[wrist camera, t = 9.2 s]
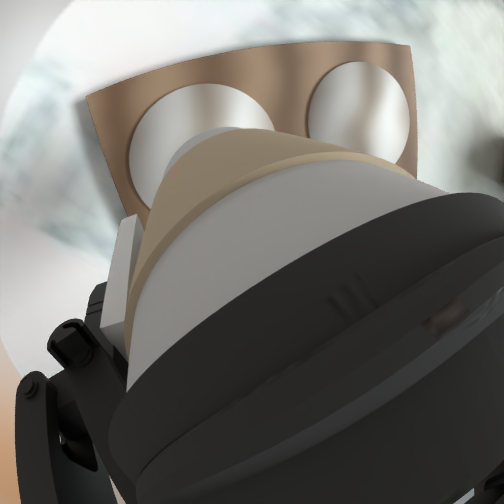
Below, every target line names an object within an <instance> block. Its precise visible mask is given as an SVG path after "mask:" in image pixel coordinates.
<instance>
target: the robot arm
mask: <svg viewBox="0 0 504 504" xmlns="http://www.w3.org/2000/svg"><path fill="white" fill-rule="evenodd" d="M143 235H144V230H143V227H142V225H141V222H140V220H139V217H138V215H137V214H135V215H132V216H129V217H127V218H124V219H121V223H120V227H119V231H118V235H117V239H116V243H115V247H114V252H113V256H112V261H111V266H110V271H109V276H108V281H107V282H104V283H101V284H98V285H96V287H95V288H94V290H93V292H92V293H91V295H90V298H89V302H88V308H87V311H86V316H85V321H84V322H83V321H82V320H81V319H77V318H75V319H70V320H67V321H65V322H64V323H62V324H61V325H59V326H58V327H57V328H56V329H55V330H54V331H53V333H52V334H51V336H50V338H49V340H48V343H47V350H48V351H49V353H50V354H51V355H52V356H53V357H54V358H55V359H56V360H57V361H58V362H59V363H60V364H61V365H62V367H63V368H64V370H62V371H61V372H59V373H57V374H56V375H54V376H52V377H51V378H49V379H48V378H47V377H46V376H45V375H44V374H43V373H42V372H39V371H33V372H30V373H29V374H27V375H26V376H25V377H24V378H23V379H22V380H21V381H20V384H19V386H18V388H17V392H16V405H15V449H16V466H17V476H18V485H19V492H20V499H21V504H118V503H117V500H116V497H115V494H114V491H113V488H112V484H111V481H110V478H109V475H110V477H111V479H112V481H113V483H114V484H115V486H116V488H117V490H118V491H119V493H120V495H121V496H122V498H123V499H124V501H125V503H126V504H138V502H137V499H136V487H135V486H134V484H133V483H132V482H131V481H130V480H129V478H128V477H127V476H126V475H125V473H124V472H123V471H122V470H121V468H120V467H119V466H118V464H117V463H116V462H115V460H114V459H113V457H112V455H111V452H110V449H109V444H108V432H109V426H110V423H111V420H112V417H113V415H114V413H115V411H116V409H117V407H118V405H119V403H120V402H121V400H122V398H123V397H124V396H125V394H126V391H127V378H128V366H129V360H128V357H127V353H126V349H125V342H124V320H125V313H126V307H127V302H128V298H129V293H130V288H131V284H132V279H133V275H134V271H135V266H136V262H137V258H138V254H139V250H140V246H141V242H142V239H143ZM59 435H60V436H59ZM60 437H61V444H60ZM465 504H504V460H503V461H502V462H501V463H500V464H499V465H498V466H497V467H496V468H495V469H494V470H493V471H492V472H491V473H490V474H489V475H488V476H487V477H486V478H484V479H483V480H482V481H481V482H480V483H479V484H478V485H476V486H475V487H474V496H473V497H472V498H470V499H469V500H468V501H467V502H466V503H465Z"/></svg>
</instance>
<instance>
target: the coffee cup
mask: <svg viewBox="0 0 504 504" xmlns="http://www.w3.org/2000/svg"><path fill="white" fill-rule="evenodd" d="M124 342H125V349H126V353H127V357H128V360H129V366H128V378H127V391H126V394H125V396H124V397H123V398H122V400H121V402H120V403H119V405H118V407H117V409H116V411H115V413H114V415H113V417H112V420H111V423H110V426H109V432H108V444H109V449H110V452H111V455H112V457H113V459H114V460H115V462H116V463H117V464H118V466H119V467H120V468H121V470H122V471H123V472H124V473H125V475H126V476H127V477H128V478H129V480H130V481H131V482H132V483H133V484H134V486H135V487H136V499H137V502H138V504H453V503H454V502H456V501H457V500H459V499H460V498H461V497H462V496H464V495H465V494H466V493H468V492H469V491H470V490H471V489H473V488H474V487H475V486H476V485H478V484H479V483H480V482H481V481H482V480H483V479H484V478H486V477H487V476H488V475H489V474H490V473H491V472H492V471H493V470H494V469H495V468H496V467H497V466H498V465H499V464H500V463H501V462H502V461H503V460H504V203H503V202H502V201H500V200H498V199H497V198H494V197H492V196H489V195H485V194H480V193H455V194H449V193H447V192H445V191H443V190H440V189H438V188H436V187H433V186H431V185H429V184H426V183H424V182H421V181H419V180H416V179H415V178H414V177H413V176H412V175H411V174H409V173H408V172H407V171H405V170H404V169H402V168H401V167H399V166H397V165H395V164H394V163H391V162H389V161H387V160H384V159H382V158H378V157H375V156H372V155H369V154H365V153H362V152H359V151H355V150H352V149H348V148H344V147H341V146H337V145H333V144H329V143H325V142H321V141H317V140H313V139H309V138H305V137H300V136H296V135H291V134H286V133H282V132H277V131H271V130H266V129H257V128H246V129H244V128H239V127H218V128H213V129H209V130H206V131H204V132H201V133H199V134H197V135H195V136H194V137H192V138H190V139H189V140H188V141H186V142H185V143H184V144H183V145H182V146H181V147H180V148H179V149H178V150H177V151H176V152H175V154H174V155H173V156H172V158H171V159H170V161H169V163H168V165H167V167H166V169H165V172H164V175H163V179H162V182H161V184H160V186H159V188H158V190H157V192H156V195H155V197H154V200H153V204H152V207H151V210H150V214H149V217H148V221H147V224H146V228H145V231H144V235H143V239H142V242H141V246H140V250H139V254H138V258H137V262H136V266H135V271H134V275H133V279H132V284H131V288H130V293H129V298H128V302H127V307H126V313H125V320H124Z"/></svg>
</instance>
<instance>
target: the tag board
mask: <svg viewBox="0 0 504 504" xmlns="http://www.w3.org/2000/svg"><path fill="white" fill-rule="evenodd" d="M86 99H87V102H88V106H89V109H90V112H91V116H92V119H93V122H94V125H95V129H96V132H97V135H98V138H99V141H100V144H101V147H102V150H103V153H104V156H105V158H106V161H107V164H108V167H109V170H110V172H111V175H112V178H113V180H114V183H115V186H116V188H117V191H118V193H119V196H120V198H121V201H122V203H123V206H124V208H125V211H126V213H127V216H128V217H129V216H132V215H135V214H137V215H138V217H139V220H140V222H141V225H142V227H143V230H144V231H145V228H146V224H147V221H148V217H149V214H150V210H151V207H152V204H153V200H154V197H155V195H156V192H157V190H158V188H159V186H160V184H161V182H162V179H163V175H164V172H165V169H166V167H167V165H168V163H169V161H170V159H171V158H172V156H173V155H174V154H175V152H176V151H177V150H178V149H179V148H180V147H181V146H182V145H183V144H184V143H185V142H186V141H188V140H189V139H190V138H192V137H194V136H195V135H197V134H199V133H201V132H204V131H206V130H209V129H213V128H218V127H239V128H244V129H246V128H257V129H266V130H271V131H277V132H282V133H286V134H291V135H296V136H300V137H305V138H309V139H313V140H317V141H321V142H325V143H329V144H333V145H337V146H341V147H344V148H348V149H352V150H355V151H359V152H362V153H365V154H369V155H372V156H375V157H378V158H382V159H384V160H387V161H389V162H391V163H394V164H395V165H397V166H399V167H401V168H402V169H404V170H405V171H407V172H408V173H409V174H411V175H412V176H413V177H414V178H415V179H416V180H417V109H416V93H415V81H414V72H413V63H412V55H411V48H410V46H409V45H400V44H389V43H375V42H307V43H292V44H281V45H272V46H263V47H256V48H249V49H243V50H237V51H231V52H226V53H220V54H216V55H211V56H206V57H202V58H198V59H193V60H189V61H185V62H182V63H178V64H174V65H171V66H167V67H164V68H160V69H157V70H154V71H151V72H148V73H145V74H142V75H139V76H136V77H133V78H130V79H127V80H125V81H122V82H119V83H117V84H114V85H112V86H109V87H107V88H104V89H102V90H99V91H97V92H95V93H92V94H90V95H88V96H86Z"/></svg>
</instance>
